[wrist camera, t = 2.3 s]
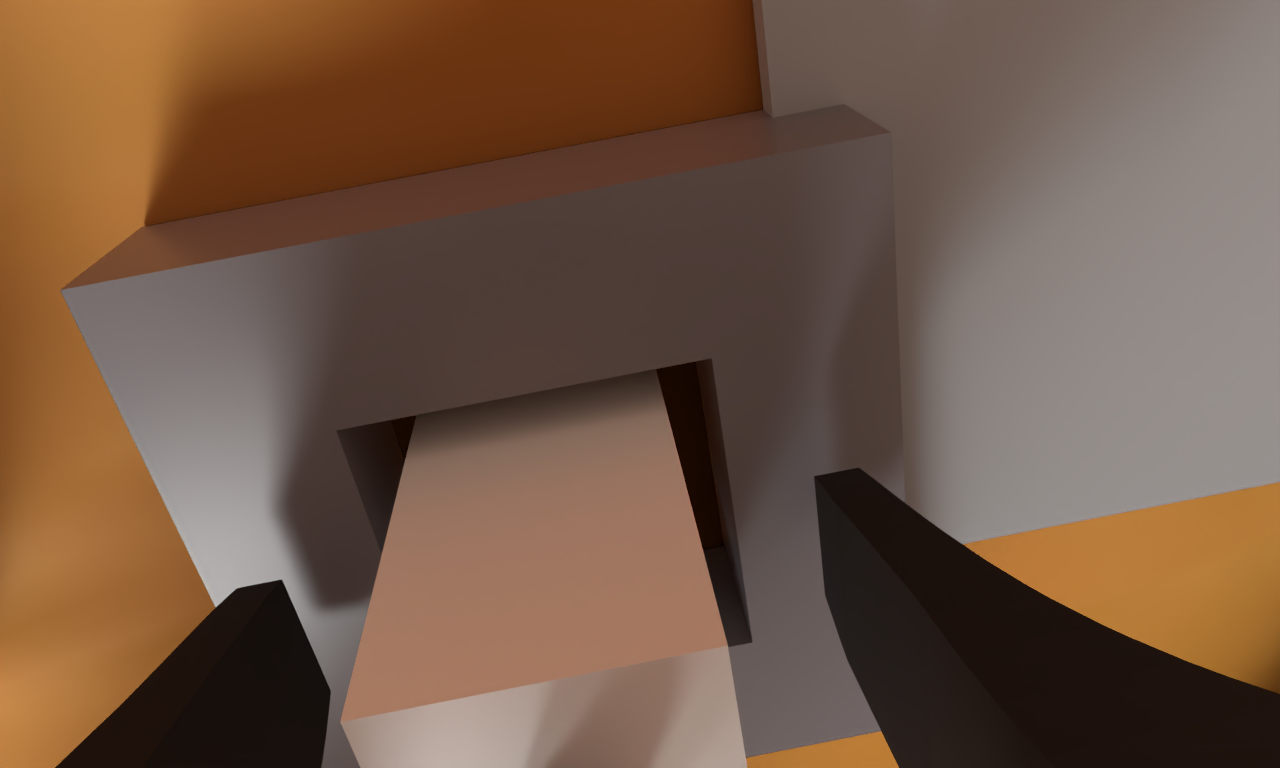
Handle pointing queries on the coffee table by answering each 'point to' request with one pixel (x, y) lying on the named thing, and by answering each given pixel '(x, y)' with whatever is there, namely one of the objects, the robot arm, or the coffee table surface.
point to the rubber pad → (1066, 241)
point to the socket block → (527, 364)
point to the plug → (544, 595)
